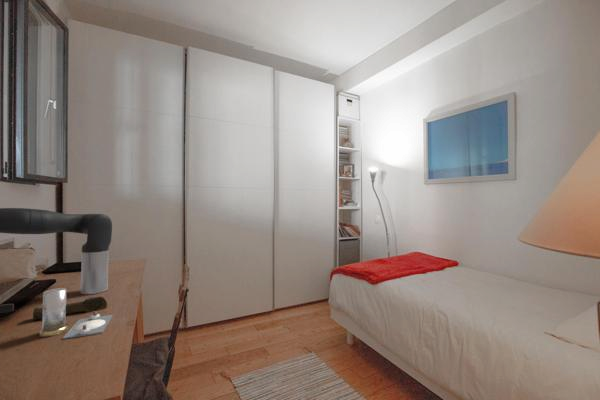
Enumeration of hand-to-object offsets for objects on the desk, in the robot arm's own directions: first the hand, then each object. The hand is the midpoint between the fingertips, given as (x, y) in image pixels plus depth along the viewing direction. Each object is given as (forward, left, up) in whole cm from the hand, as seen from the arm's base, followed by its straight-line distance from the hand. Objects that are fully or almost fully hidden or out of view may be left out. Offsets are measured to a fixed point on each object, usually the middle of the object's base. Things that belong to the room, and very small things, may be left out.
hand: (4, 313), depth 73 cm
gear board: (0, +19, -7) cm, 21 cm away
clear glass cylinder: (0, +11, -7) cm, 13 cm away
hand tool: (-15, +11, -8) cm, 20 cm away
